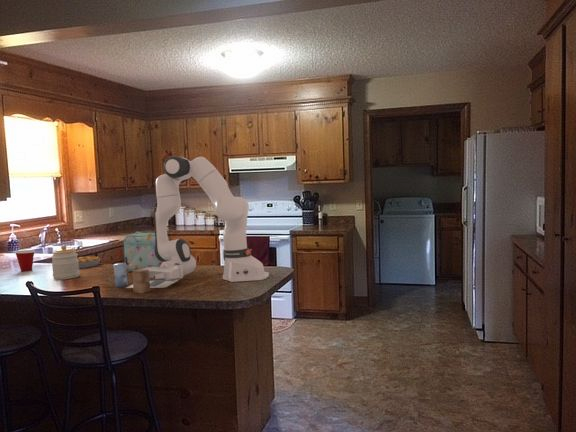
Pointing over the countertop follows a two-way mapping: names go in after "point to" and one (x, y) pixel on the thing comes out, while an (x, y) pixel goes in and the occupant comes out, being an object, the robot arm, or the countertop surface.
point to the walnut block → (141, 281)
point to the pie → (88, 261)
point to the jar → (65, 263)
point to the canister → (120, 275)
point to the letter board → (159, 283)
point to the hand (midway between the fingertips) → (147, 276)
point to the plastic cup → (25, 259)
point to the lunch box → (140, 251)
